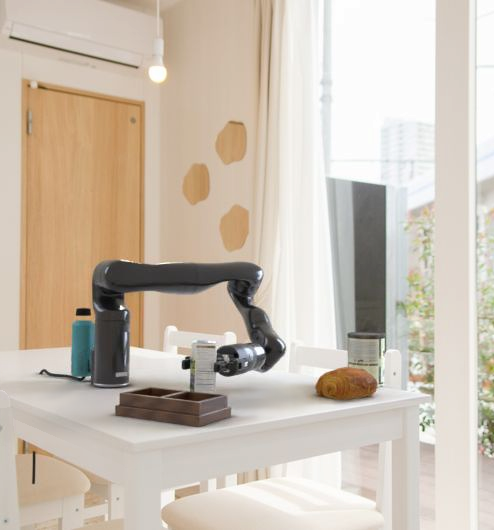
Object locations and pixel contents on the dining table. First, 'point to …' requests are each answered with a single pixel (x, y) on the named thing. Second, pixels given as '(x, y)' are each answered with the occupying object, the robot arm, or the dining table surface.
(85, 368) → the beverage bottle
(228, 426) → the dining table surface
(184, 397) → the shallow walnut tray
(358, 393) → the croissant
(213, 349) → the syrup box
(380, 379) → the coffee can
